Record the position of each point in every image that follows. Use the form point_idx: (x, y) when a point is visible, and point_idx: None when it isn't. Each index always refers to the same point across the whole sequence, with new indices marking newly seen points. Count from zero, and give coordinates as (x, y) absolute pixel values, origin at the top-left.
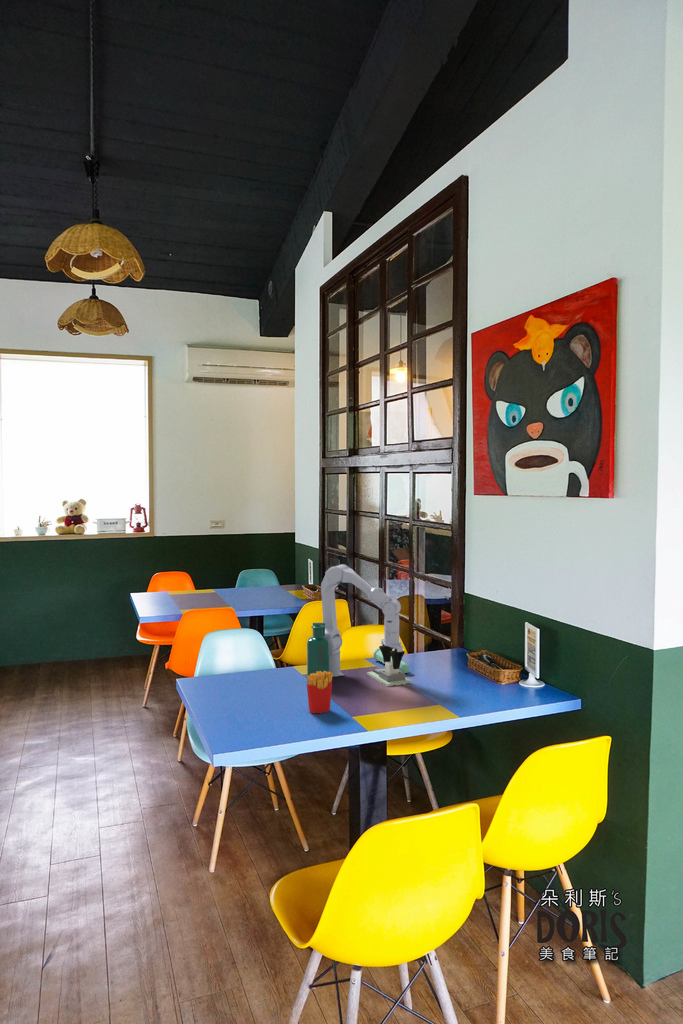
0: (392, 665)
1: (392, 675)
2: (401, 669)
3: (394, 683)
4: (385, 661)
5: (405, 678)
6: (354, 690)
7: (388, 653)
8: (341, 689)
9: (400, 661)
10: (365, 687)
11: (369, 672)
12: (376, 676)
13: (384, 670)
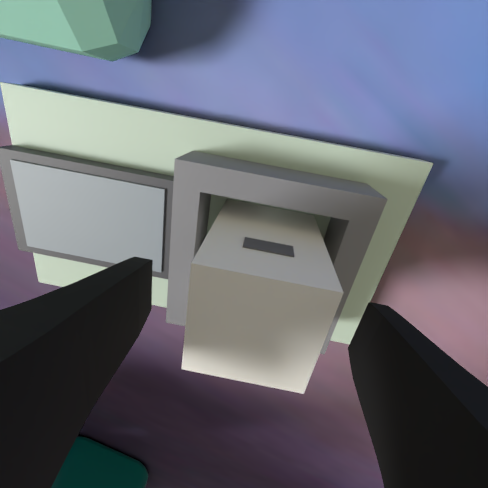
0: (312, 355)
1: (337, 318)
2: (128, 36)
3: (368, 300)
4: (136, 332)
5: (338, 156)
6: (283, 452)
7: (59, 384)
8: (237, 469)
9: (468, 381)
10: (275, 406)
11: (48, 273)
12: (160, 296)
13: (175, 285)
